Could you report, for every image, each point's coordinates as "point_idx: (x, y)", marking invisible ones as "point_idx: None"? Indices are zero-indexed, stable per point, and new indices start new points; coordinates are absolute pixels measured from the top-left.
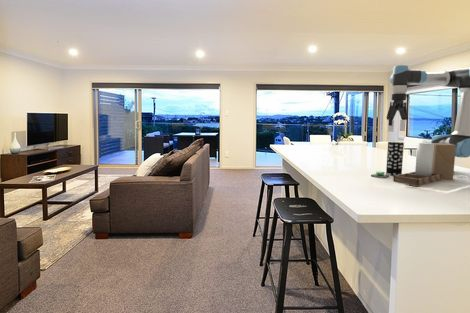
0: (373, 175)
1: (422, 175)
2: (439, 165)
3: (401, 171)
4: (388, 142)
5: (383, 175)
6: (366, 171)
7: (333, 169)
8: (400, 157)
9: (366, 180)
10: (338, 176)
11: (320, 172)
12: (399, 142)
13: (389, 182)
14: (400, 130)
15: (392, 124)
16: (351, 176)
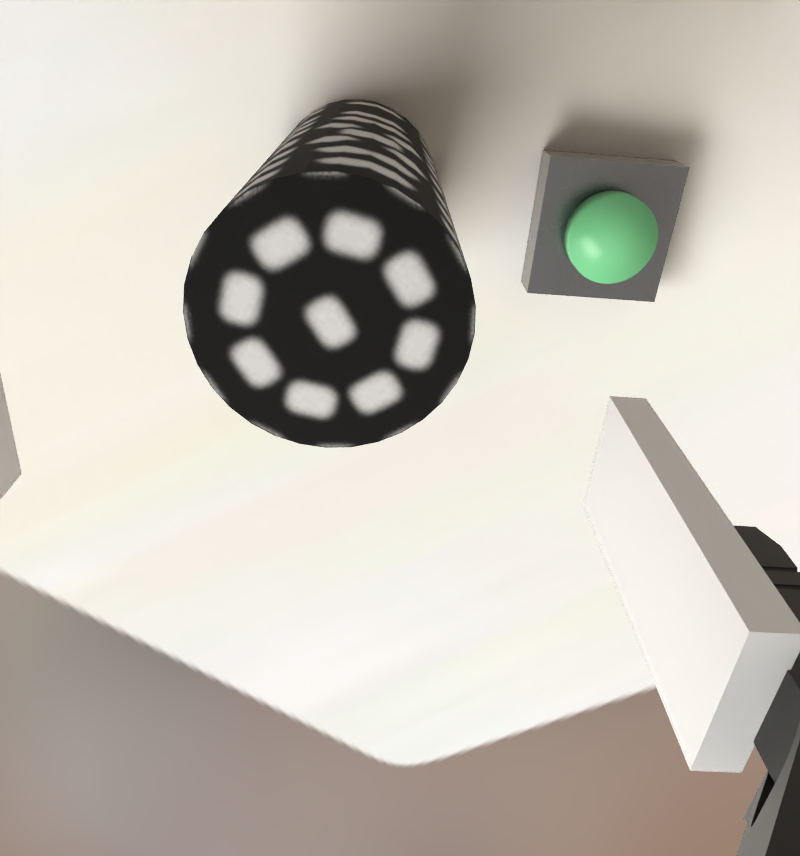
0: (659, 273)
1: None
2: None
3: (342, 106)
4: (429, 412)
5: None
6: (301, 487)
7: (439, 676)
8: (383, 138)
9: (794, 258)
10: (745, 503)
11: None
12: (293, 265)
13: (764, 40)
14: (14, 459)
15: (720, 532)
16: None
